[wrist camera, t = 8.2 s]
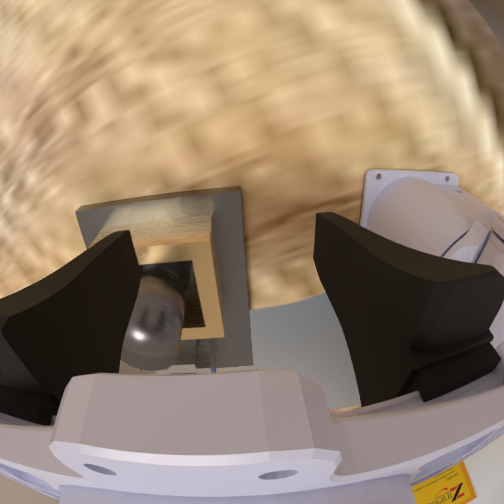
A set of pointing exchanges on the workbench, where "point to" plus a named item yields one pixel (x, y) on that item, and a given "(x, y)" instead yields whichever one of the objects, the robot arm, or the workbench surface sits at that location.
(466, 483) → the packaging box
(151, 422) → the robot arm
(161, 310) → the dark grey cylinder
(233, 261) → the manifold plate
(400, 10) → the workbench surface
